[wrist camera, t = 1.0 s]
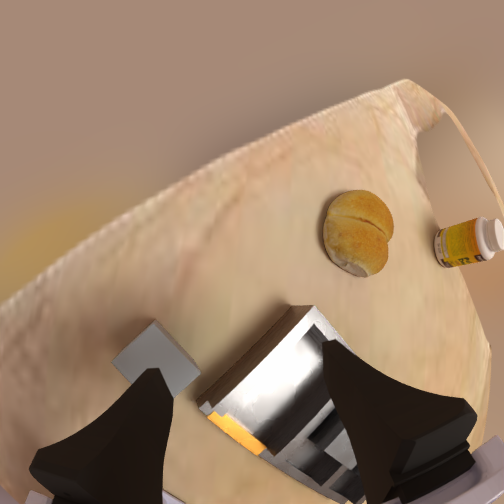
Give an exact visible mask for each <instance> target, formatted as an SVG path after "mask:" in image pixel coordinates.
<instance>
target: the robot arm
mask: <svg viewBox="0 0 504 504" xmlns="http://www.w3.org/2000/svg"><path fill="white" fill-rule="evenodd" d="M322 354H323V376H324V380H325V383H326V386H327V389H328V392H329V395H330V398H331V400H332V402H333V404H334V406H335V408H336V411H337V413H338V415H339V417H340V419H341V421H342V423H343V425H344V428H345V430H346V432H347V435H348V437H349V440H350V443H351V446H352V449H353V452H354V455H355V459H356V462H357V466H358V469H359V473H360V477H361V480H362V484H363V488H364V492H365V497H366V501H367V504H491V503H492V502H494V501H495V500H496V499H497V498H498V497H500V496H501V495H502V494H503V493H504V443H503V441H502V440H501V439H500V437H499V436H498V435H495V436H494V437H492V438H491V439H490V440H488V441H487V442H486V443H484V444H483V445H481V446H480V447H478V448H477V449H476V450H475V451H474V452H472V454H470V452H469V451H468V449H469V447H470V445H469V443H468V442H467V440H466V439H467V437H468V436H469V434H470V433H471V431H472V429H473V427H474V425H475V423H476V421H477V414H476V412H475V411H474V410H473V408H472V407H471V406H470V405H469V404H468V402H467V401H466V400H465V399H464V398H456V397H449V396H442V395H438V394H433V393H429V392H426V391H422V390H419V389H416V388H414V387H411V386H408V385H405V384H403V383H401V382H399V381H396V380H394V379H392V378H390V377H388V376H386V375H385V374H383V373H381V372H380V371H378V370H376V369H375V368H373V367H372V366H370V365H369V364H367V363H366V362H364V361H363V360H362V359H360V358H359V357H358V356H356V355H355V354H354V353H352V352H351V351H350V350H349V349H347V348H346V347H345V346H344V345H343V344H341V343H340V342H339V341H338V340H336V339H333V340H329V341H325V342H322ZM173 401H174V398H173V396H172V394H171V392H170V390H169V388H168V386H167V384H166V382H165V380H164V377H163V375H162V373H161V371H160V369H159V368H147V369H146V370H145V371H144V372H143V373H142V374H141V375H140V376H139V377H138V378H137V379H136V381H135V382H134V383H133V384H132V385H131V386H130V387H129V388H128V389H127V390H126V391H125V393H124V394H123V395H122V396H121V397H120V398H119V399H118V400H117V401H116V402H115V403H114V404H113V405H112V406H111V407H110V408H109V409H108V410H106V411H105V412H104V413H103V414H102V415H101V416H99V417H98V418H97V419H96V420H94V421H93V422H92V423H90V424H89V425H87V426H86V427H84V428H83V429H81V430H80V431H78V432H77V433H75V434H73V435H71V436H70V437H68V438H66V439H64V440H62V441H60V442H57V443H55V444H52V445H50V446H47V447H44V448H41V449H38V451H37V453H36V455H35V457H34V459H33V461H32V463H31V465H30V467H29V471H30V473H31V475H32V476H33V477H34V478H35V479H36V480H37V481H38V482H39V483H40V484H42V485H43V486H44V487H45V488H46V489H48V490H49V491H50V492H51V493H52V494H54V495H55V496H54V498H53V500H52V499H51V498H49V497H47V496H45V495H43V494H40V493H38V492H35V491H33V490H30V492H29V494H28V496H27V499H26V501H25V504H185V503H184V502H182V501H180V500H179V499H177V498H175V497H174V496H172V495H170V494H169V493H167V492H166V491H164V490H163V464H164V456H165V451H166V446H167V441H168V437H169V432H170V427H171V422H172V417H173Z"/></svg>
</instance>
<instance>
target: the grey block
mask: <svg viewBox="0 0 504 504" xmlns="http://www.w3.org/2000/svg"><path fill="white" fill-rule="evenodd" d="M111 363H112V364H113V365H114V366H115V367H116V368H117V369H118V370H119V371H120V372H121V374H122V375H123V376H124V377H125V378H126V379H127V380H128V381H129V382H130V383H131V384H133V383H134V382H135V381H136V379H137V378H138V377H139V376H140V375H141V374H142V373H143V372H144V371H145V370H146V369H147V368H159V369H160V371H161V373H162V375H163V377H164V380H165V382H166V384H167V386H168V388H169V390H170V392H171V394H172V396H173V398H174V397H176V396H177V395H178V394H179V393H180V392H181V391H182V390H183V389H185V388H186V387H187V386H188V385H189V384H190V383H191V382H192V381H193V380H194V379H196V378H197V377H198V376H199V375H200V374H201V372H200V370H199V368H198V366H197V364H196V363H195V361H194V359H193V358H192V357H191V356H190V355H189V354H188V353H187V352H186V351H185V350H184V349H183V348H182V347H181V346H180V345H179V344H178V343H177V342H176V341H175V340H174V339H173V337H172V336H171V335H170V334H169V333H168V332H167V331H166V330H165V329H164V328H163V327H162V325H161V324H160V323H159V322H158V321H157V320H156V319H155V320H154V321H153V322H152V323H151V324H150V325H149V326H148V327H147V328H146V329H144V330H143V331H142V332H141V333H140V334H139V335H138V336H137V337H136V338H135V339H133V340H132V341H131V342H130V343H129V344H128V345H127V346H126V347H125V348H124V349H123V350H122V351H121V352H120V353H119V354H118V355H117V356H116V357H115V358H114V359H113V360H112V362H111Z"/></svg>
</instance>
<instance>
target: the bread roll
mask: <svg viewBox="0 0 504 504" xmlns="http://www.w3.org/2000/svg"><path fill="white" fill-rule="evenodd" d="M393 228H394V224H393V218H392V215H391V213H390V211H389V209H388V207H387V206H386V205H385V203H384V202H383V201H382V200H381V199H380V198H379V197H377V196H376V195H375V194H373V193H371V192H369V191H365V190H353V191H348V192H346V193H343V194H341V195H340V196H338V197H337V198H336V199H335V200H334V201H333V202H332V203H331V204H330V206H329V208H328V211H327V217H326V219H325V222H324V227H323V239H324V245H325V248H326V251H327V253H328V255H329V256H330V258H331V260H332V261H333V262H334V263H336V264H337V265H339V266H340V267H341V268H342V269H344V270H346V271H347V272H349V273H352V274H353V275H356V276H358V277H364V278H366V277H368V276H370V275H373V274H376V273H378V272H379V271H380V270H381V269H382V268H383V267H384V266H385V264H386V262H387V260H388V244H387V243H388V242H389V240H390V239H391V237H392V235H393Z"/></svg>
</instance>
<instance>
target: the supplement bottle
mask: <svg viewBox="0 0 504 504" xmlns="http://www.w3.org/2000/svg"><path fill="white" fill-rule="evenodd" d="M434 247H435V253H436V256H437V259H438V261H439V262H440V264H441V265H442V266H444V267H446V268H450V267H456V266H461V265H466V264H470V263H476V262H481V261H486V260H489V259H491V258H492V257H493V256H494V253H495V252H498V251H501V250H503V249H504V228H503V226H502V223H501V222H500V220H499V219H493V220H490V221H488V220H487V219H486V218H485V217H479V218H476V219H473V220H469V221H466V222H463V223H461V224H457V225H454V226H451V227H448V228H444V229H441V230H440V231H438V232H437V234H436V236H435V241H434Z"/></svg>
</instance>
